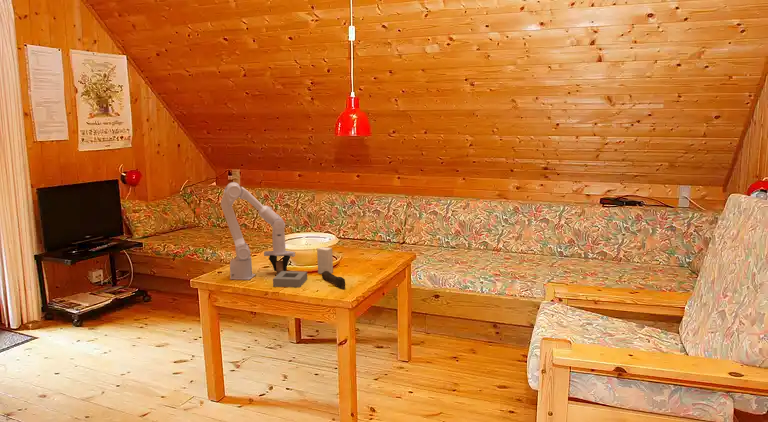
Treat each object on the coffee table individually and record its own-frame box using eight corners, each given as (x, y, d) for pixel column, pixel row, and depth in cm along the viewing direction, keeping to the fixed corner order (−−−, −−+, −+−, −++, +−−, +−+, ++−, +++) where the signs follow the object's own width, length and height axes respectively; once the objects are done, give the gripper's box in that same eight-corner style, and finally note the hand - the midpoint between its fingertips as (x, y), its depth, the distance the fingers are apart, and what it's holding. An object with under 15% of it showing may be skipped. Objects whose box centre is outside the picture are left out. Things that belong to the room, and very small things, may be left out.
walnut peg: (275, 275, 259) (274, 262, 258) (277, 272, 263) (277, 260, 262) (283, 275, 258) (282, 262, 257) (286, 272, 262) (285, 260, 261)
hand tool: (321, 279, 251) (321, 270, 250) (329, 278, 253) (329, 268, 252) (338, 291, 235) (338, 280, 234) (347, 289, 237) (347, 279, 236)
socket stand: (273, 286, 242) (272, 278, 241) (282, 278, 253) (281, 271, 253) (299, 287, 240) (299, 279, 239) (307, 279, 252) (307, 271, 251)
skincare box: (333, 272, 261) (332, 248, 259) (328, 275, 257) (327, 250, 255) (323, 271, 264) (322, 246, 262) (317, 273, 260) (316, 248, 258)
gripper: (261, 244, 255) (262, 272, 257) (291, 245, 253) (292, 273, 255) (266, 241, 262) (267, 268, 264) (295, 241, 260) (297, 269, 262)
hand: (280, 270), depth 260 cm, fingers closed on walnut peg, 4 cm apart
